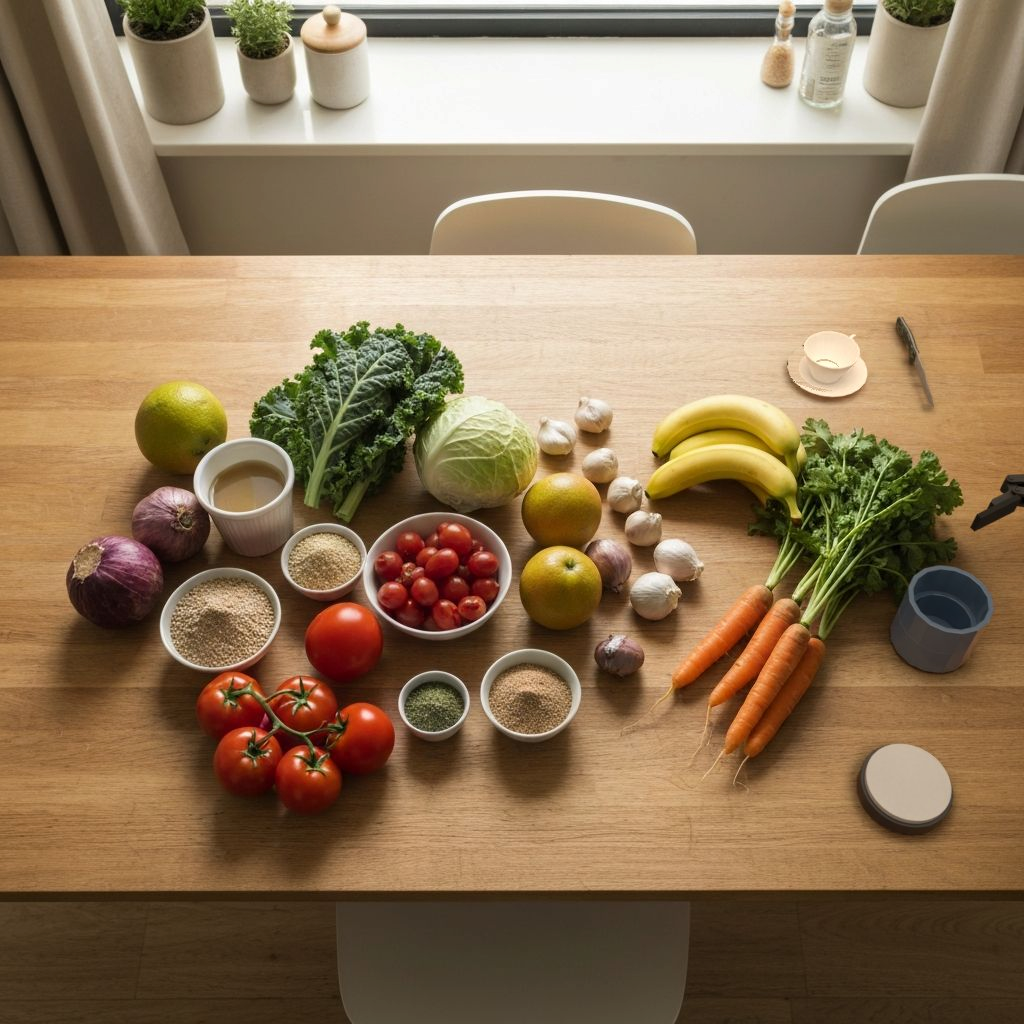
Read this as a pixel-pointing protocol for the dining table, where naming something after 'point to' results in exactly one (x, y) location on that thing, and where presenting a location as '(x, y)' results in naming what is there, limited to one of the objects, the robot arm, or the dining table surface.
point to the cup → (941, 618)
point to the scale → (904, 789)
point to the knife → (914, 356)
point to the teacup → (832, 364)
